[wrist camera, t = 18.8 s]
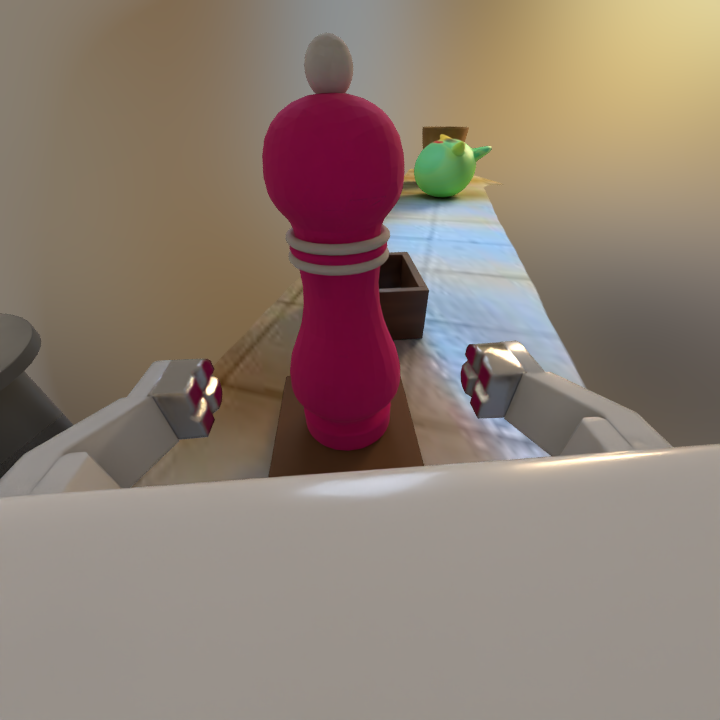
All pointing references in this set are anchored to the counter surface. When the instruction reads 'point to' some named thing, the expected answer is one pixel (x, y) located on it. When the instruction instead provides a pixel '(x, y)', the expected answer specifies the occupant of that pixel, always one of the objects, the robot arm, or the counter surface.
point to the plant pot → (434, 133)
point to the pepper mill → (338, 246)
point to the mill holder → (402, 297)
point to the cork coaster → (308, 456)
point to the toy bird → (447, 166)
